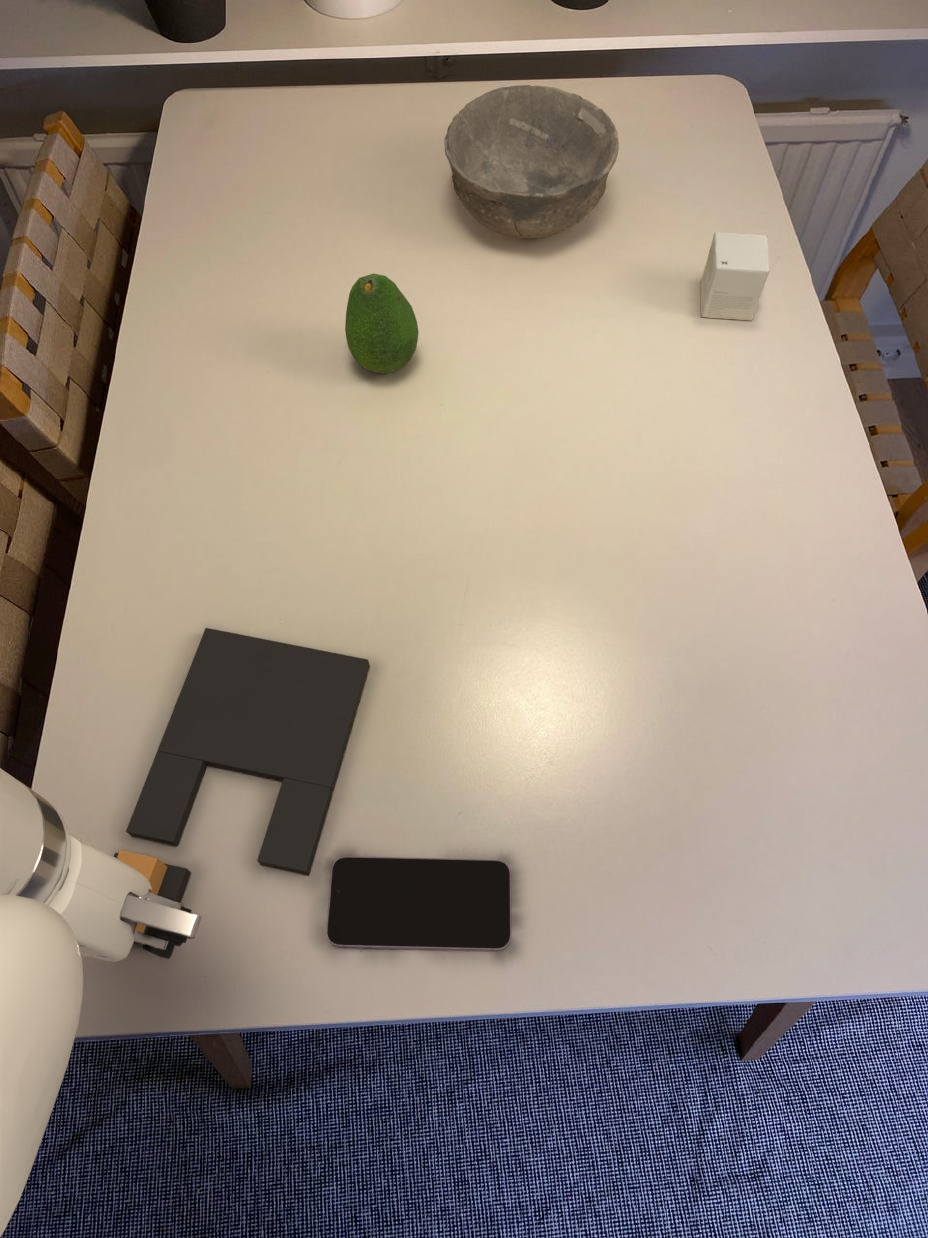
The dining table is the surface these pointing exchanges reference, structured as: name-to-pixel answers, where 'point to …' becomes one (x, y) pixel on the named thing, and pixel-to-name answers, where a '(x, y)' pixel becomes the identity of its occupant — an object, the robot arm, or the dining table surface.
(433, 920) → the smartphone
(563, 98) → the bowl
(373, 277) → the fruit
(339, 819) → the dining table surface
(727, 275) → the product box
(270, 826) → the mat
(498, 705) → the dining table surface
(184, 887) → the pad piece
